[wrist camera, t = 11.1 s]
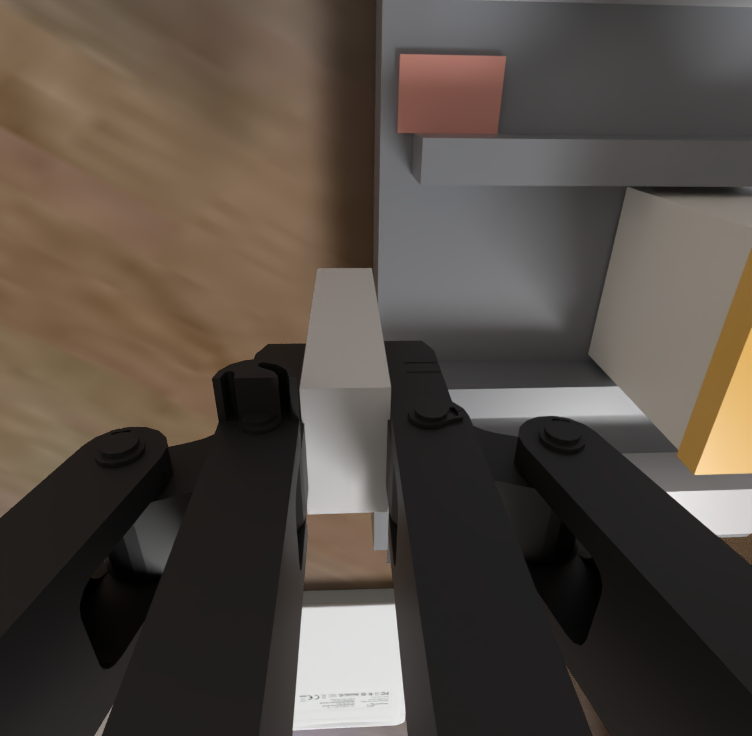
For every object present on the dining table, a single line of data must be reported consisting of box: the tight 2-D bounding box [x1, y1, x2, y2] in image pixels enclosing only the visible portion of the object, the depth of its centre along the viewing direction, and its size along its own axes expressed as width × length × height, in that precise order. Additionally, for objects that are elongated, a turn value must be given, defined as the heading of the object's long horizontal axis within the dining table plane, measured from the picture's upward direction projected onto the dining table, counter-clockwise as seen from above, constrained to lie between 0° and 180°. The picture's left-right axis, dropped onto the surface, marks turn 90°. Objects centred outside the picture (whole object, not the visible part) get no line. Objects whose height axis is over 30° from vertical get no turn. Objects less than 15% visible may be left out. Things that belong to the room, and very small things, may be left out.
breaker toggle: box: [588, 187, 752, 475], centre depth 15 cm, size 4×6×7 cm
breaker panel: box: [371, 0, 752, 550], centre depth 18 cm, size 18×26×5 cm
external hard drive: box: [293, 588, 405, 730], centre depth 32 cm, size 2×8×12 cm
